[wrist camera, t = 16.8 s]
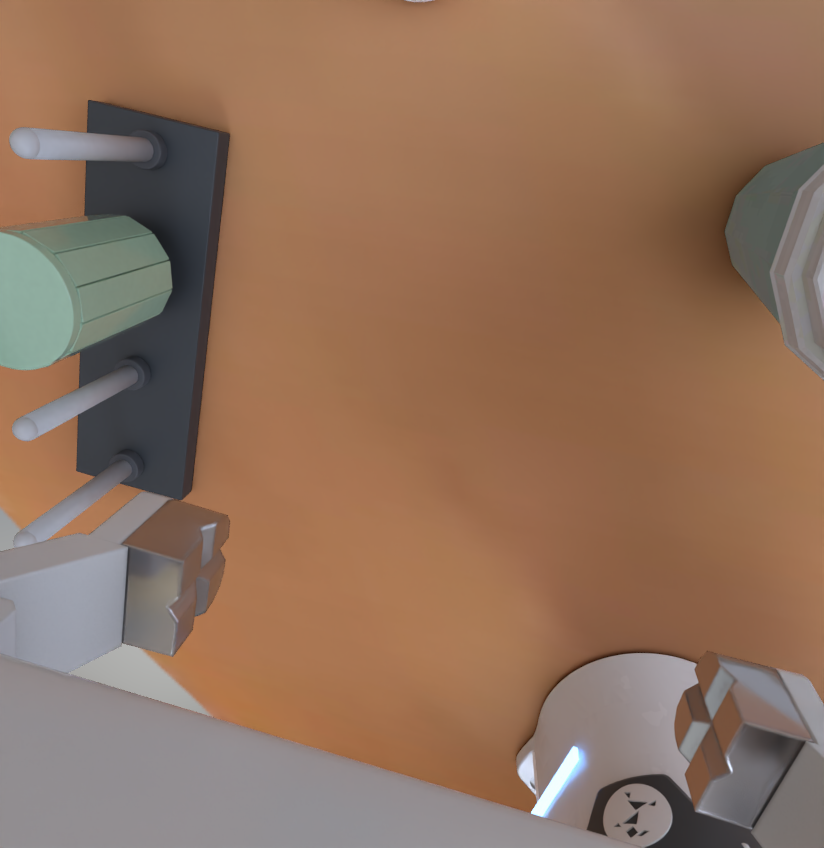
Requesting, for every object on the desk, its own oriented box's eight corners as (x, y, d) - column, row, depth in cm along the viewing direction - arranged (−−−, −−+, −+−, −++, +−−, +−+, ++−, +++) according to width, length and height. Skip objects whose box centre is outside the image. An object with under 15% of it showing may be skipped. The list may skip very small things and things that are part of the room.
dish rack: (191, 491, 46) (86, 594, 34) (89, 462, 46) (-48, 555, 35) (230, 133, 37) (105, 117, 26) (103, 102, 37) (-73, 73, 26)
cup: (130, 193, 35) (13, 204, 27) (192, 296, 37) (100, 335, 29) (48, 246, 37) (-86, 271, 29) (111, 341, 39) (1, 391, 30)
